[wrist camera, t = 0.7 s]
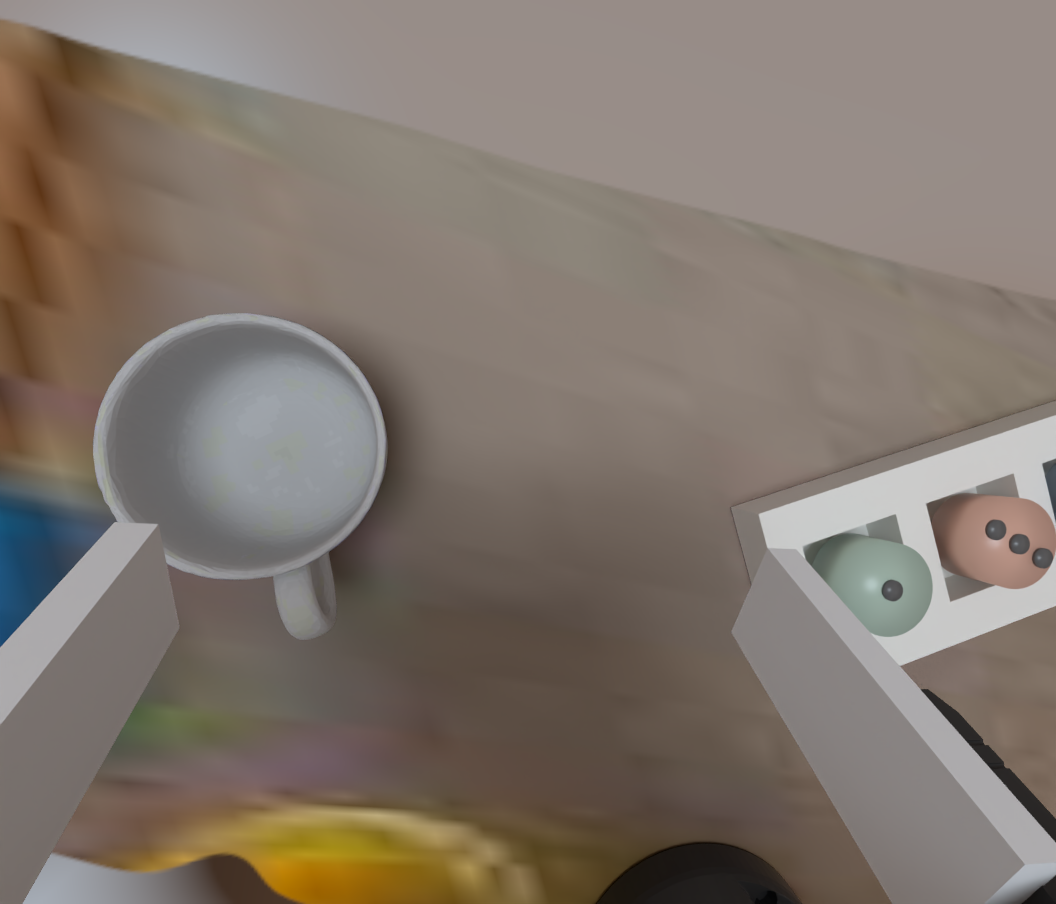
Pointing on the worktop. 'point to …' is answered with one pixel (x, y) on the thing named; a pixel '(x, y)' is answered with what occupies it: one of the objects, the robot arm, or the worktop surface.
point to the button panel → (920, 519)
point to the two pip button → (1052, 487)
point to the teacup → (245, 454)
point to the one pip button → (877, 581)
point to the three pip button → (994, 539)
